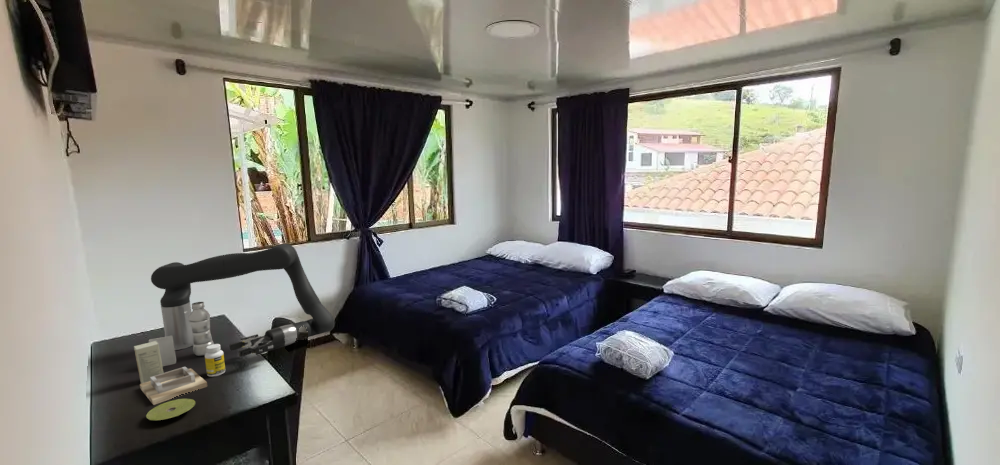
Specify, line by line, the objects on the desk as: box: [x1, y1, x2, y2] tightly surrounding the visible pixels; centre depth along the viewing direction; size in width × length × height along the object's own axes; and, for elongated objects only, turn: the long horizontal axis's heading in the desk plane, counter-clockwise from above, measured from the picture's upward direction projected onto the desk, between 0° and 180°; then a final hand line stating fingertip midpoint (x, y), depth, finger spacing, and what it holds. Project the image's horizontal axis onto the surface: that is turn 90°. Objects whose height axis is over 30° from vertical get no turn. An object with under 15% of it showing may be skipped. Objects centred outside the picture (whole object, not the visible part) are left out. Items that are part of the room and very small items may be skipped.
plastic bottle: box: [189, 301, 215, 357], centre depth 165 cm, size 6×7×20 cm
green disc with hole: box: [145, 398, 196, 421], centre depth 125 cm, size 11×11×2 cm
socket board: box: [139, 366, 208, 406], centre depth 141 cm, size 16×14×4 cm
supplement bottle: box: [204, 343, 226, 377], centre depth 150 cm, size 5×5×10 cm
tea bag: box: [148, 336, 177, 367], centre depth 158 cm, size 4×7×10 cm, turn 123°
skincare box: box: [133, 341, 165, 384], centre depth 146 cm, size 6×4×12 cm
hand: (234, 350), depth 154 cm, fingers open, 8 cm apart
